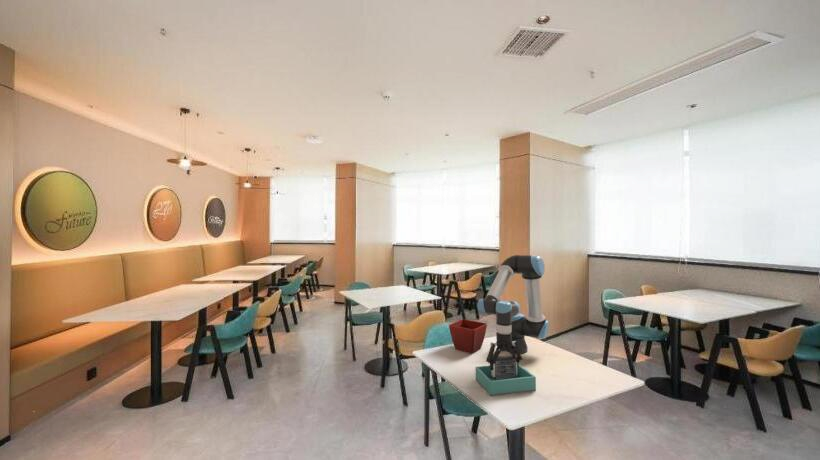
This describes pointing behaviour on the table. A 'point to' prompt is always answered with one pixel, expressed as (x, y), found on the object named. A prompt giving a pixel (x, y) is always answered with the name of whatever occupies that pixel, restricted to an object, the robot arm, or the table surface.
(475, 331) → the plant pot
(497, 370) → the small box
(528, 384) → the bin
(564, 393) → the table surface
